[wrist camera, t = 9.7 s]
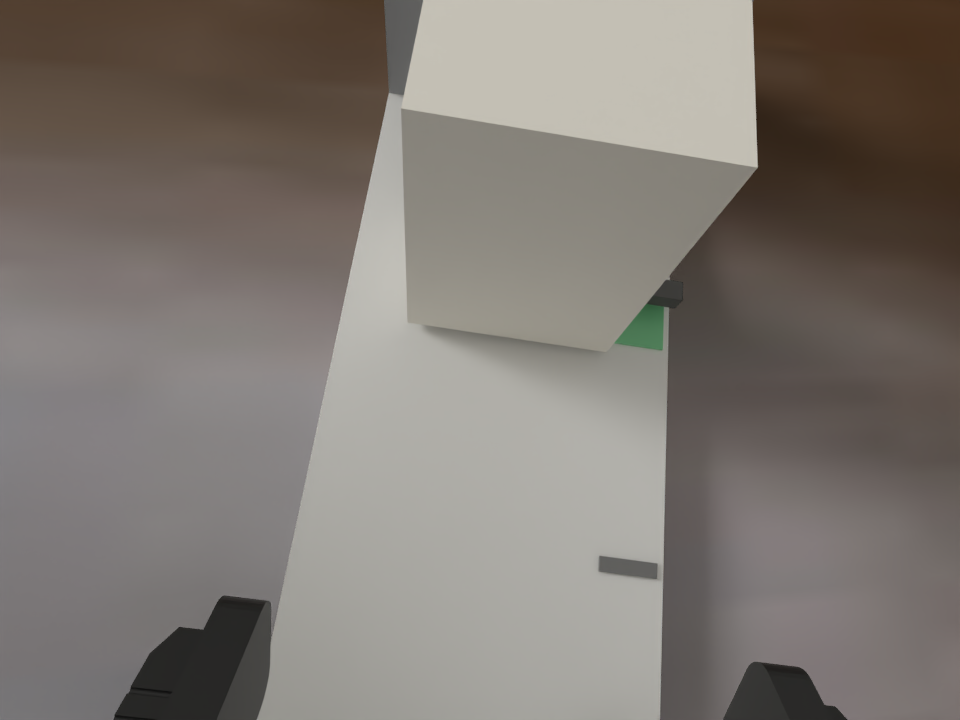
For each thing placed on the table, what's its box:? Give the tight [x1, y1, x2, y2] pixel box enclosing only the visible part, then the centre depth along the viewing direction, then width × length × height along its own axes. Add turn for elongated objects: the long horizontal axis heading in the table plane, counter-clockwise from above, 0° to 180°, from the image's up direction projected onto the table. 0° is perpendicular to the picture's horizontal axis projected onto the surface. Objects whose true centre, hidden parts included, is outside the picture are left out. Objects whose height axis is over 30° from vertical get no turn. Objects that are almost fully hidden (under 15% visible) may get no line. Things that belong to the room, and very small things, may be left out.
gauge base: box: [257, 0, 753, 720], centre depth 15 cm, size 10×28×12 cm, turn 173°
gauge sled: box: [401, 0, 758, 352], centre depth 16 cm, size 8×5×9 cm, turn 83°
